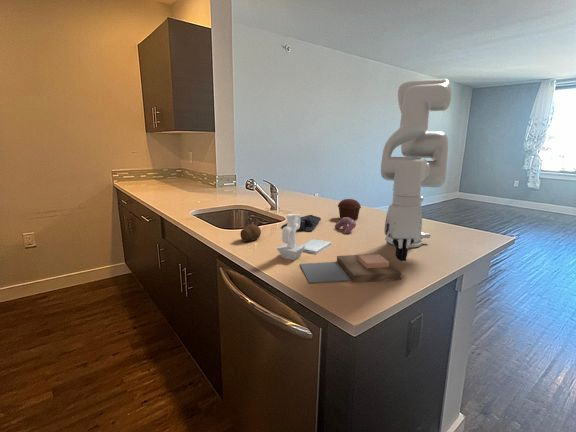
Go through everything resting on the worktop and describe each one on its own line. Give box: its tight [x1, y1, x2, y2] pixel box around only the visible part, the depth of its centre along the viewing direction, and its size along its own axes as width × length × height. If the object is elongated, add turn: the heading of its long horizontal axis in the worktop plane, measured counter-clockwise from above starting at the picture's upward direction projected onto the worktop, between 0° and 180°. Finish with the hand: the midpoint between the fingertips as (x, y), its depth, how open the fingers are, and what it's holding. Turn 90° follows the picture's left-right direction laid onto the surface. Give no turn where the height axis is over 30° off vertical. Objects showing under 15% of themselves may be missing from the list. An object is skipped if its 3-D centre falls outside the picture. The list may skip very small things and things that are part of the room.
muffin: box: [337, 198, 362, 221], centre depth 163 cm, size 12×11×10 cm
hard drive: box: [302, 238, 332, 255], centre depth 119 cm, size 2×8×12 cm
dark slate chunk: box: [280, 214, 322, 233], centre depth 151 cm, size 15×22×5 cm
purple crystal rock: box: [334, 217, 357, 234], centre depth 142 cm, size 10×5×7 cm, turn 22°
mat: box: [299, 261, 352, 284], centre depth 96 cm, size 12×14×1 cm
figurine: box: [276, 213, 305, 261], centre depth 108 cm, size 7×9×15 cm
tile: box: [357, 253, 390, 268], centre depth 98 cm, size 7×7×2 cm
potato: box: [240, 223, 262, 242], centre depth 128 cm, size 7×10×6 cm
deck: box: [336, 253, 402, 283], centre depth 98 cm, size 14×16×2 cm
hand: (400, 259), depth 99 cm, fingers closed
